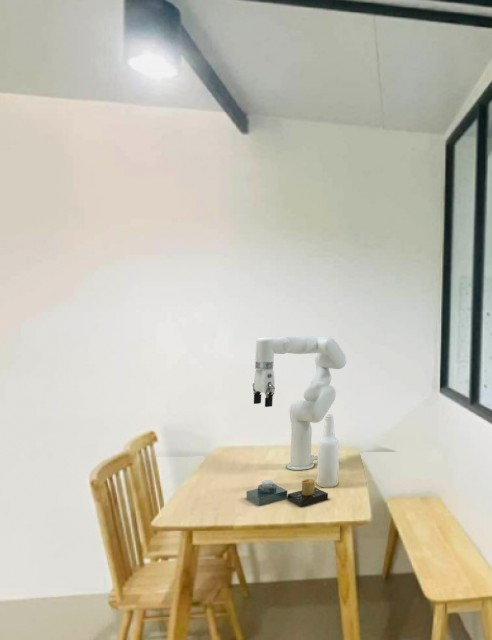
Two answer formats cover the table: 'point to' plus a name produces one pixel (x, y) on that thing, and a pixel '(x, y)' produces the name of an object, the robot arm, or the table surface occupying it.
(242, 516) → the table surface
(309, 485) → the dial
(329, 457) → the alcohol
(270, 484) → the light grey short cylinder
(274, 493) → the push button box
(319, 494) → the dial plate
